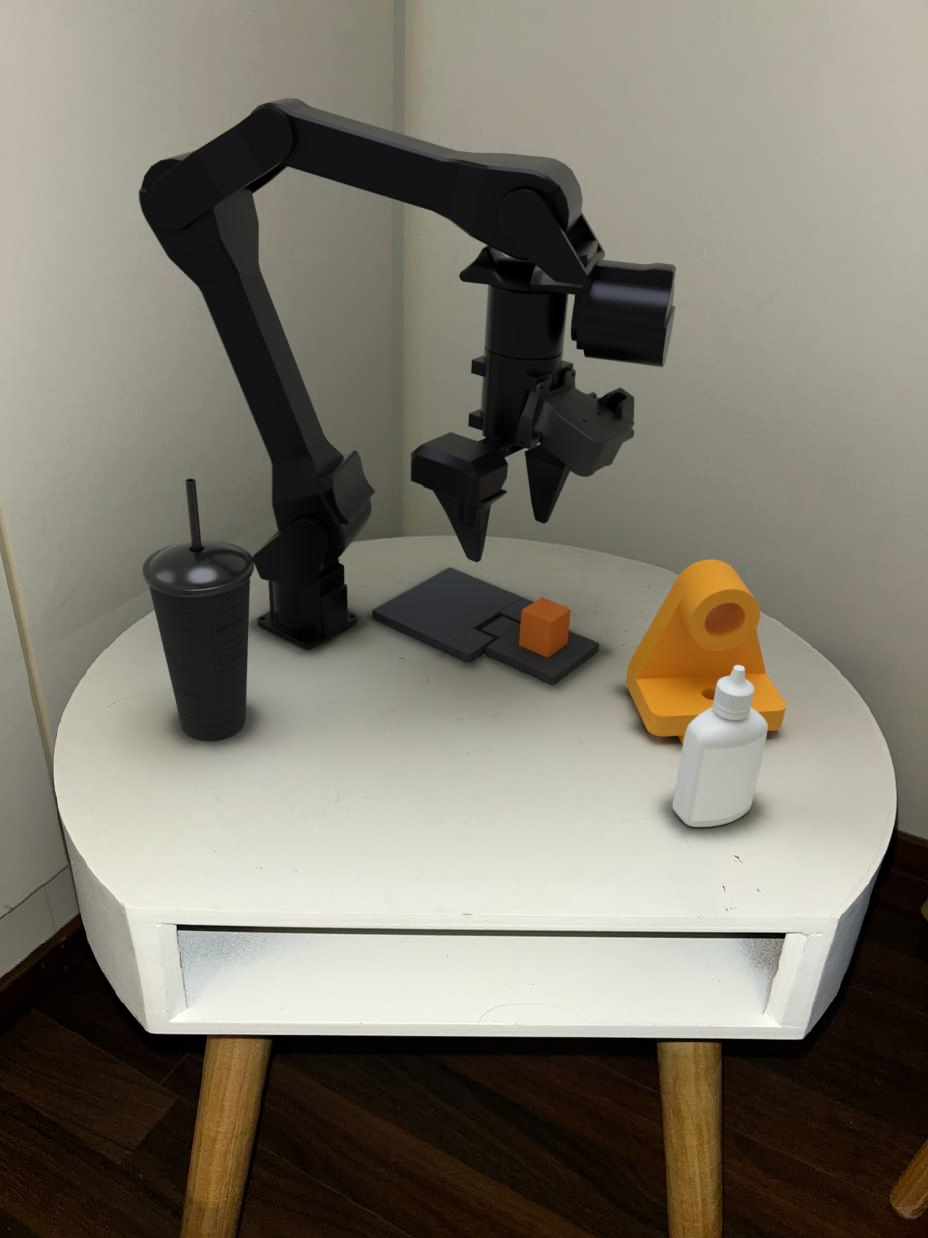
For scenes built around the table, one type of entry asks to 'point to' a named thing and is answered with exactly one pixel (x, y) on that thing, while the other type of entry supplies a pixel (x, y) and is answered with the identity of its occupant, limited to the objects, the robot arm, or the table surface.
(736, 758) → the eye dropper bottle
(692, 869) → the table surface
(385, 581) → the table surface
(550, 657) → the black pad
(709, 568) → the bracket
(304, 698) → the table surface
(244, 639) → the drinking cup
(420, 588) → the charcoal pad
